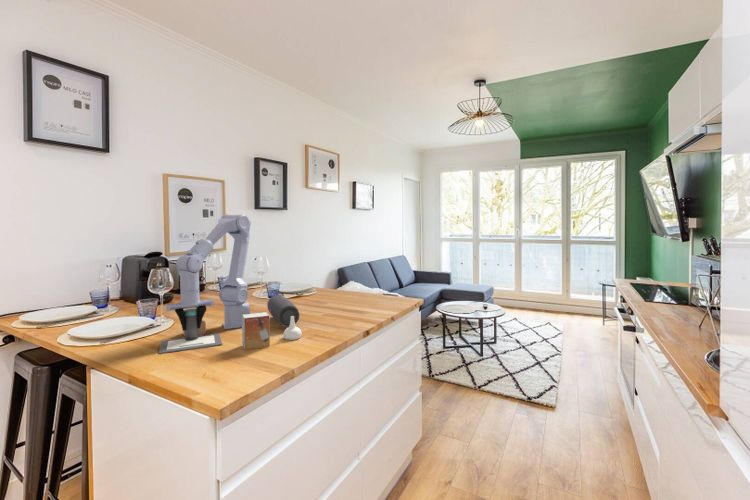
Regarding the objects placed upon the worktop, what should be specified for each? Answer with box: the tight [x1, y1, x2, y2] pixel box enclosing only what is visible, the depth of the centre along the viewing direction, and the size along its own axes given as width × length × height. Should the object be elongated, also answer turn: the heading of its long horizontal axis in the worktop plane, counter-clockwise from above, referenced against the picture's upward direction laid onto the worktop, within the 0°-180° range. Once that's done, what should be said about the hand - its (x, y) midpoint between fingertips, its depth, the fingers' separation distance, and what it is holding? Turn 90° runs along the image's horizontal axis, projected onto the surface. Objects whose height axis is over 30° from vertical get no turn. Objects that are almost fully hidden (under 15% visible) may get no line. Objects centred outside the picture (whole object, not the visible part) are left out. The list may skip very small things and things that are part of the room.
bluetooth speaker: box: [267, 294, 300, 328], centre depth 142 cm, size 23×9×10 cm, turn 27°
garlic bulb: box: [283, 316, 303, 341], centre depth 123 cm, size 6×6×8 cm
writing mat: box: [158, 332, 223, 355], centre depth 117 cm, size 18×13×1 cm
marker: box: [183, 308, 198, 340], centre depth 120 cm, size 4×4×10 cm
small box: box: [241, 311, 271, 351], centre depth 115 cm, size 8×6×10 cm
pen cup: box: [182, 319, 207, 337], centre depth 128 cm, size 7×7×4 cm
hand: (191, 328), depth 120 cm, fingers closed on marker, 4 cm apart
